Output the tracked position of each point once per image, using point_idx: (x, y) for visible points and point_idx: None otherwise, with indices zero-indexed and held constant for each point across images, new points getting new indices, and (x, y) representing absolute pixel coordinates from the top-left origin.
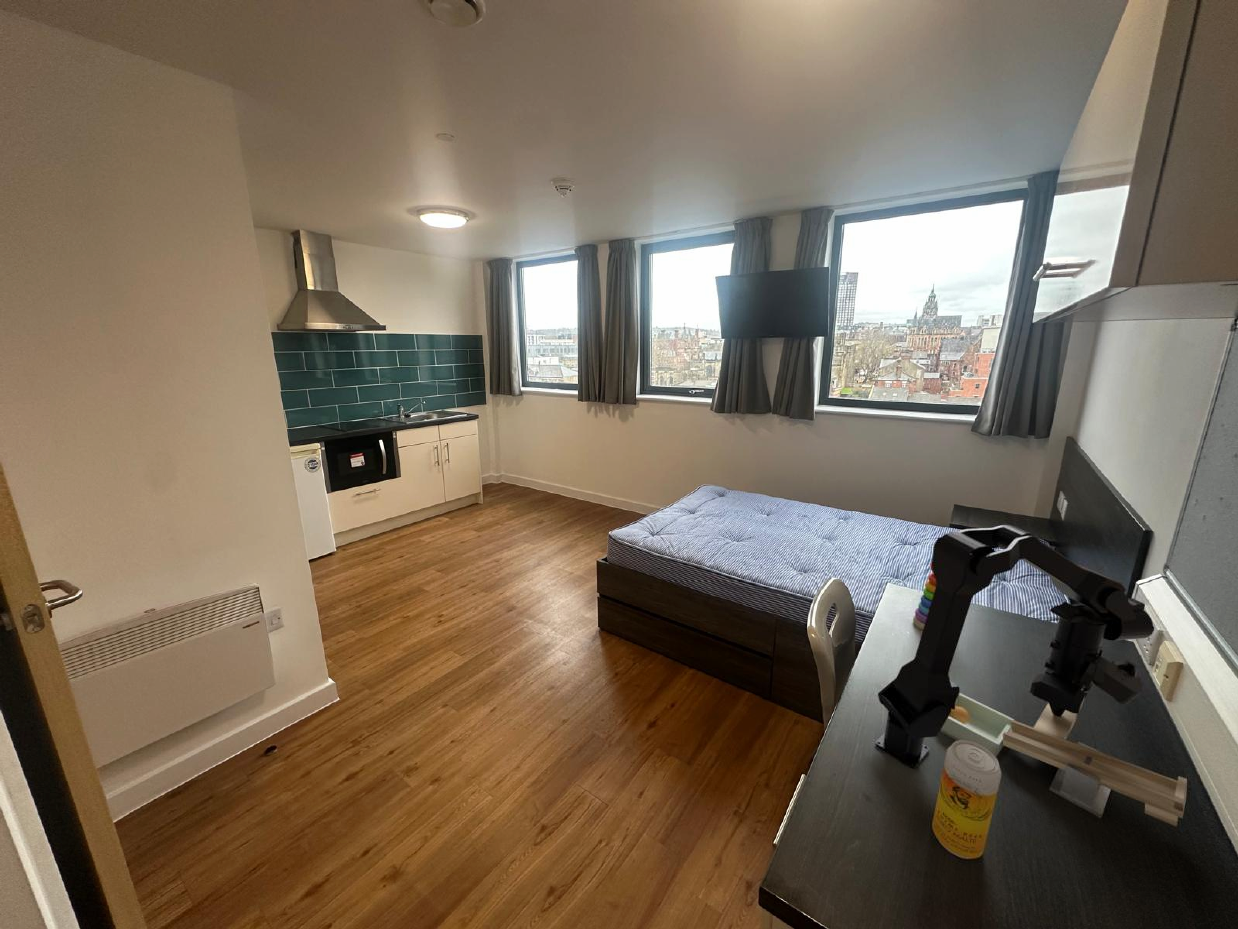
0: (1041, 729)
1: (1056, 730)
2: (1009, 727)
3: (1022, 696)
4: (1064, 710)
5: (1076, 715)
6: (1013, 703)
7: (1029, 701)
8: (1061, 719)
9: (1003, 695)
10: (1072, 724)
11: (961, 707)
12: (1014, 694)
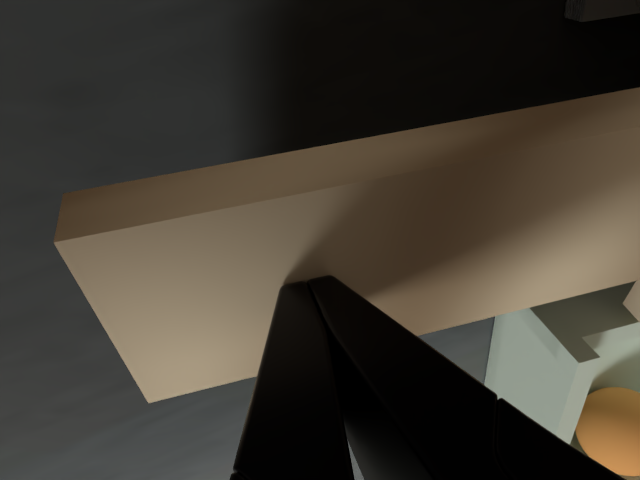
0: (625, 254)
1: (595, 198)
2: (628, 328)
3: (25, 431)
4: (422, 342)
5: (96, 220)
6: (169, 408)
7: (30, 397)
8: (364, 254)
9: (149, 455)
10: (326, 167)
11: (634, 470)
12: (63, 450)
